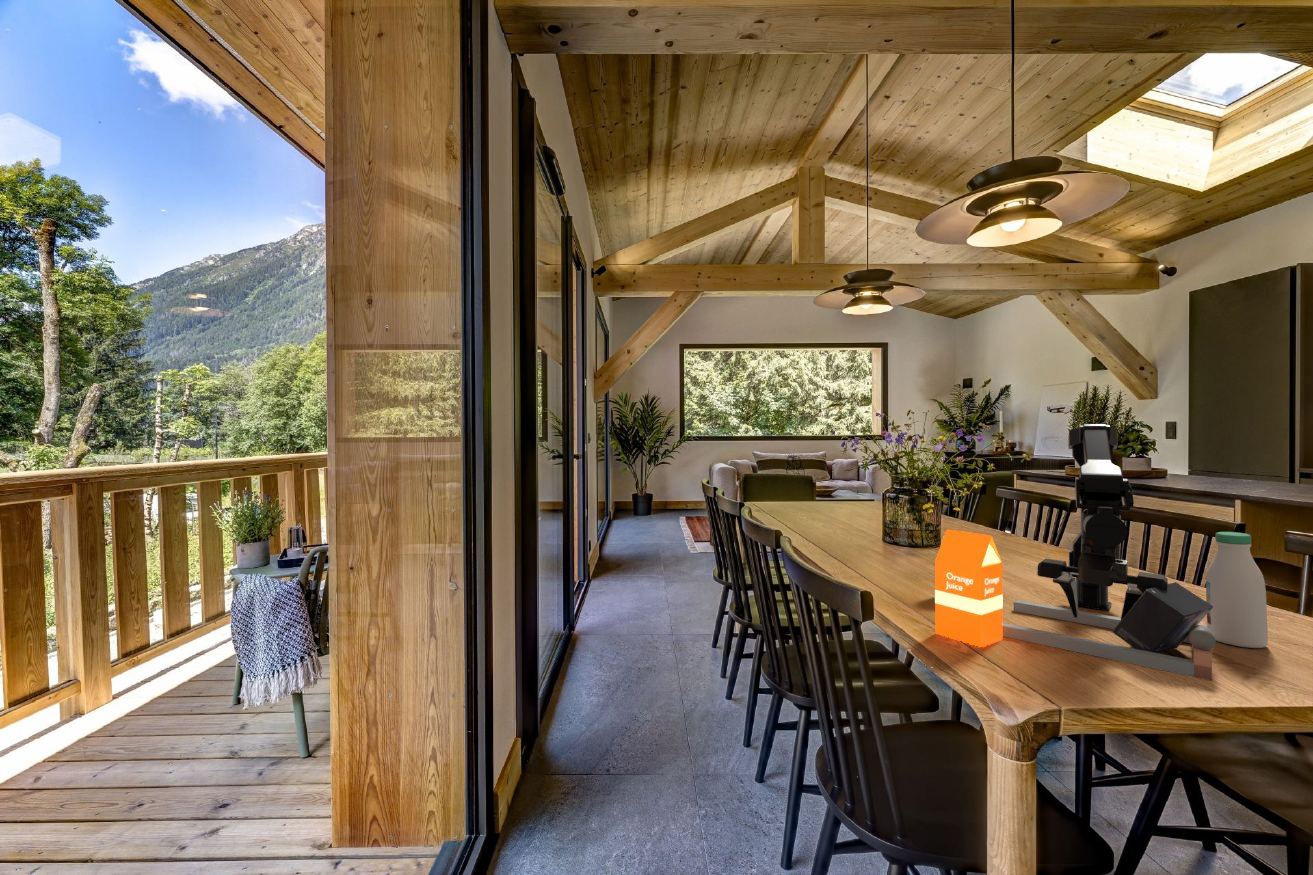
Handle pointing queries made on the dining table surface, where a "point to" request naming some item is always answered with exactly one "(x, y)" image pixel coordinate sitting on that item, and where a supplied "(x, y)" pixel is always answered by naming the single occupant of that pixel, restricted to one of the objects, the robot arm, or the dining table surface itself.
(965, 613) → the orange juice
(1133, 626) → the small box
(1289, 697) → the dining table surface
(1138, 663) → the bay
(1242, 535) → the milk bottle
